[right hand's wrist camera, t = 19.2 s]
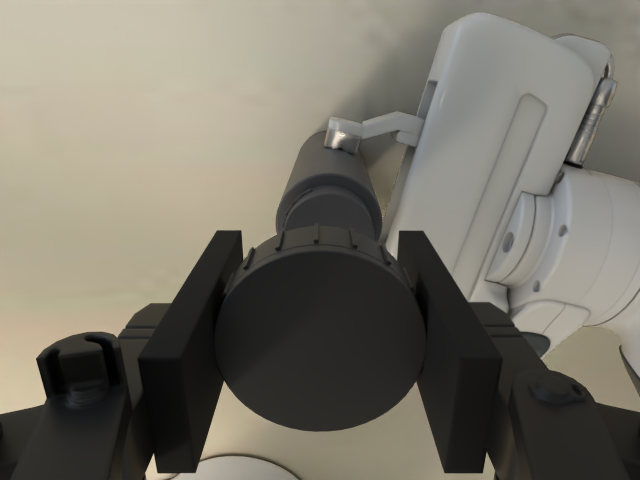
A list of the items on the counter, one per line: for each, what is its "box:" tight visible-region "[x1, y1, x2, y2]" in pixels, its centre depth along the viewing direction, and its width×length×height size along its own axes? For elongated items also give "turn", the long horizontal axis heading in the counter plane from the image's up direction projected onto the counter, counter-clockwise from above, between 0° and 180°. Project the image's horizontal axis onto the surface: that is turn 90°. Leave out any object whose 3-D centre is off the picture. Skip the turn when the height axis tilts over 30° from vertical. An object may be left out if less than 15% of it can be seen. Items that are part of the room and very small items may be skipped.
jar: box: [276, 131, 382, 243], centre depth 24 cm, size 4×4×15 cm
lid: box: [214, 223, 427, 432], centre depth 11 cm, size 5×5×2 cm
